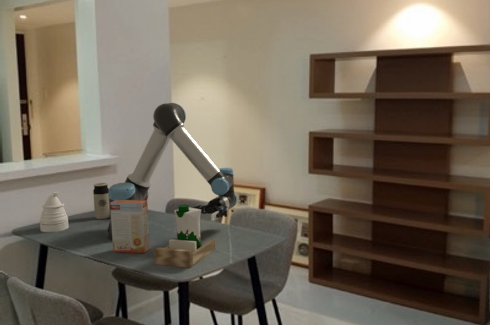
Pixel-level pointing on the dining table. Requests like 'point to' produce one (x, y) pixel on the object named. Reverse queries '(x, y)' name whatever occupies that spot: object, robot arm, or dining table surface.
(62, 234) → the dining table surface
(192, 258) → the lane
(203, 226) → the dining table surface
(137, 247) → the cracker box
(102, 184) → the travel mug
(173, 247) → the block
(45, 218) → the honey pot
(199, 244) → the soya milk
